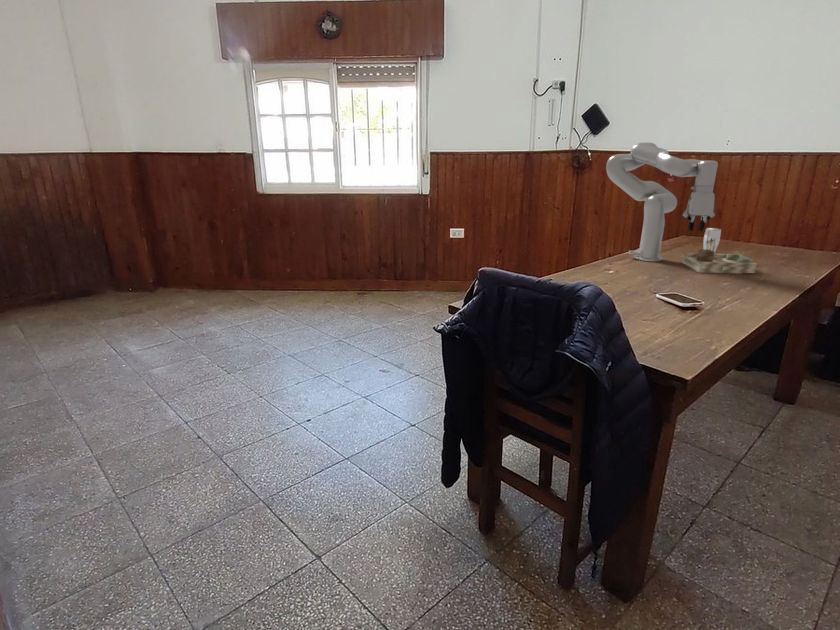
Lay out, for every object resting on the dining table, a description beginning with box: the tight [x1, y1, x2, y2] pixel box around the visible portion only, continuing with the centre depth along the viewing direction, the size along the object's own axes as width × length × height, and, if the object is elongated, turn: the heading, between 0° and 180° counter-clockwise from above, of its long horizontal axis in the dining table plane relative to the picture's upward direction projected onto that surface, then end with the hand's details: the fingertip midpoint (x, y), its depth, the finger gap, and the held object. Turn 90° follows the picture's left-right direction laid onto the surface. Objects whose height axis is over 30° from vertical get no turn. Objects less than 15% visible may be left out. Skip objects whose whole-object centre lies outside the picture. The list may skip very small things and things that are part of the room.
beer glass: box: [702, 227, 722, 254], centre depth 249 cm, size 7×7×15 cm
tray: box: [681, 252, 758, 274], centre depth 233 cm, size 24×19×6 cm
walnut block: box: [697, 248, 716, 262], centre depth 233 cm, size 5×5×5 cm
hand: (695, 230), depth 229 cm, fingers open, 3 cm apart
